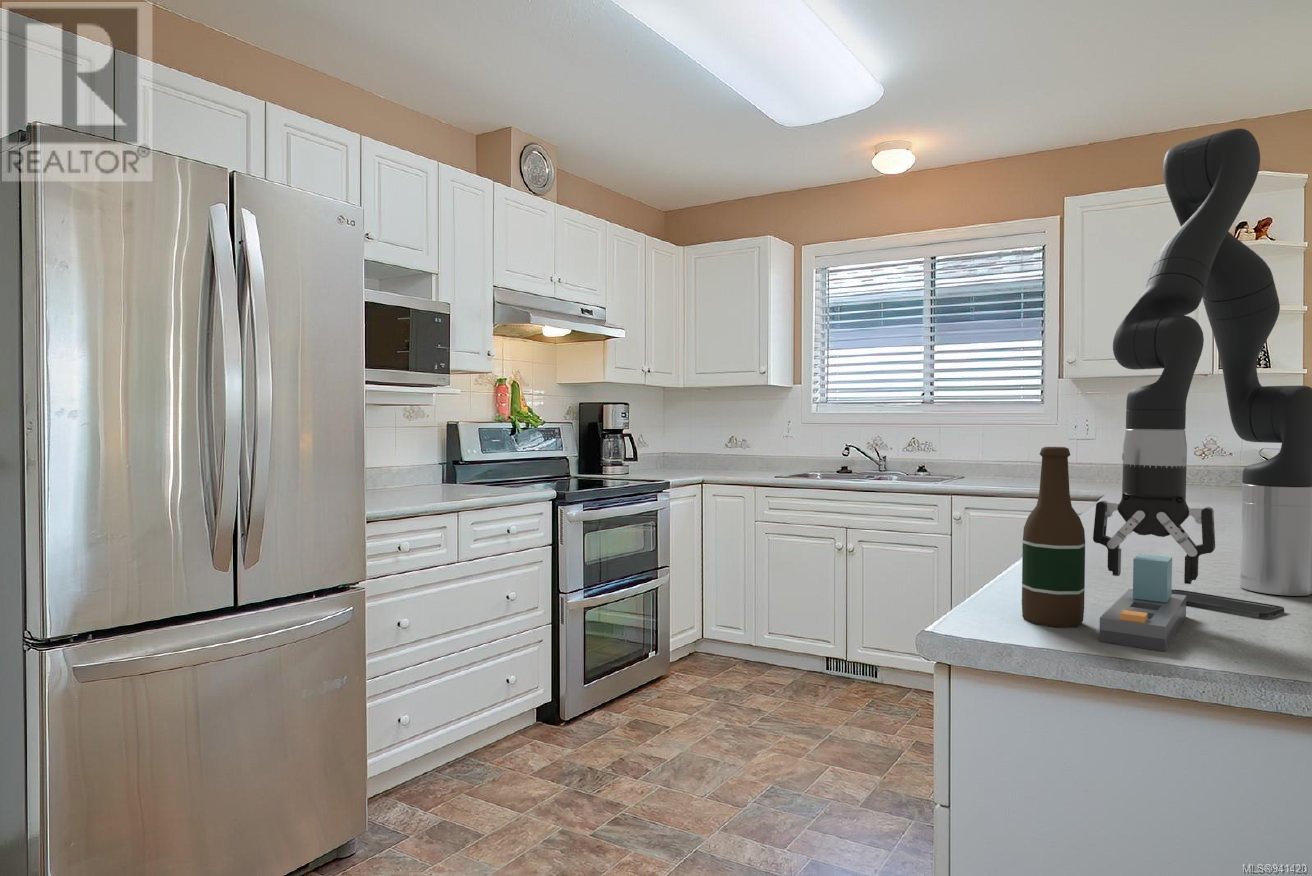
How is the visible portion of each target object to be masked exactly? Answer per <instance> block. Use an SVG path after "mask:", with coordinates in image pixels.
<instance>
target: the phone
mask: <svg viewBox="0 0 1312 876" xmlns="http://www.w3.org/2000/svg"><path fill="white" fill-rule="evenodd" d="M1172 594H1178V595H1186V607H1192V608H1198V609H1202V610H1209V611H1213V612H1214V611H1215V612H1220V613H1225V614H1229V615H1230V614H1231V615H1237V616H1242V617H1246V618H1252V619H1253V618H1254V619H1257V620H1259V619H1260V620H1265V619H1266V620H1267V619H1271V618H1273V617H1276V616H1280V615H1281V616H1282V615H1283V614H1285V607H1284V606H1281V605H1275V604H1269V603H1265V602H1264V603H1263V602H1262V603H1261V602H1256V601H1250V600H1244V599H1238V598H1231V597H1226V596H1220V595H1214V594H1208V593H1202V592H1196V591H1190V590H1184V589H1183V590H1182V589H1176V588H1175V589H1172Z"/></svg>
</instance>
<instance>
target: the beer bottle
mask: <svg viewBox="0 0 1312 876" xmlns="http://www.w3.org/2000/svg"><path fill="white" fill-rule="evenodd" d="M1039 455H1040V457H1041V467H1040V468H1041V469H1040V477H1039V478H1040V479H1039V480H1040V482H1039V491H1038V492H1039V493H1038V498H1037V502H1036V506H1035V507H1034V508H1033V509H1032V511H1031V512H1030V513H1029V515H1028V517H1027V519H1026V521H1025V524H1024V526H1023V532H1022V533H1023V534H1022V555H1021V556H1022V559H1021V561H1022V562H1021V563H1022V564H1021V565H1022V566H1021V568H1022V569H1021V571H1022V572H1021V613H1022V614H1021V616H1022V617H1023V619H1024V620H1025V621H1028V622H1029V623H1032V624H1034V625H1039V626H1043V627H1044V626H1045V627H1050V628H1051V627H1052V628H1077V627H1079V626H1080V625H1081V624H1082V623H1083V621H1084V616H1085V615H1084V614H1085V588H1086V587H1085V585H1086V584H1085V583H1086V581H1085V580H1086V578H1085V577H1086V534H1085V533H1086V531H1085V528H1084V525H1083V522H1082V520H1081V517H1080V515H1079V514H1078V513H1077V512H1076V511H1075V509H1074V507H1073V505H1072V499H1071V495H1070V494H1071V493H1070V491H1071V490H1070V477H1069V476H1070V474H1069V473H1070V472H1069V457H1070V456H1071V451H1070V449H1069V448H1068V447H1066V446H1043V447H1041V449H1040V452H1039Z"/></svg>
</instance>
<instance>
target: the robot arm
mask: <svg viewBox="0 0 1312 876" xmlns="http://www.w3.org/2000/svg"><path fill="white" fill-rule="evenodd" d="M1260 165H1261V152H1260V146H1259V144H1258V141H1257V139H1256V137H1255V135H1254V134H1253V133H1251V131H1249V130H1247V129H1245V128H1233V129H1232V128H1231V129H1227V130H1223V131H1220V132H1216V133H1215V132H1214V133H1213V134H1209V135H1206V136H1202V137H1199V138H1195V139H1193V140H1189V141H1186V142H1185V141H1184V142H1182V143H1179V144H1176V145H1174V146H1172V147H1170V148H1169V149H1168V150H1167V151H1166V153H1165V155H1164V158H1163V165H1162V172H1163V173H1162V174H1163V181H1164V185H1165V188H1166V192H1167V195H1168V197H1169V199H1170V203H1171V205H1172V207H1173V211H1174V213H1175V216H1176V218H1177V220H1178V223H1179V225H1180V228H1178V229H1177V230H1176V231H1175V232H1174V233H1173V234H1172V236H1170V238H1169V239H1168V240H1167V241H1166V242H1165V243H1164V244H1163V245H1162V247H1161V248H1160V251H1158V253H1157V256H1156V257H1155V258H1154V259H1155V260H1154V262H1153V264H1152V268H1151V269H1150V270H1151V271H1150V273H1149V277H1148V279H1147V282H1146V284H1145V285H1146V286H1145V289H1144V291H1142V293H1141V294H1140V296H1139V297H1138V298H1137V300H1136V301H1135V302H1134V304H1133V305H1132V306H1131V307H1130V309H1129V311H1127V313H1126V315H1125V316H1124V318H1123V319H1122V320H1121V321H1120V323H1119V325H1118V326H1117V329H1116V330H1115V333H1114V337H1113V341H1112V352H1113V356H1114V358H1115V360H1116V361H1117V363H1118V364H1119V365H1120V366H1122V367H1123V368H1125V369H1127V370H1154V369H1162V373H1161V375H1160V376H1159V378H1158V379H1157V380H1156V381H1155V382H1153V383H1151V384H1147V385H1142V386H1138V387H1136V388H1132V389H1131V390H1129V392H1128V393H1127V396H1126V404H1125V407H1126V408H1125V409H1126V411H1125V435H1124V439H1123V444H1122V455H1121V461H1122V481H1121V482H1122V483H1121V485H1122V488H1121V490H1122V491H1121V500H1120V501H1119V503H1118V502H1117V503H1116V502H1108V501H1106V500H1100V501H1098V502H1096V504H1095V513H1094V523H1093V534H1092V541H1093V542H1094V543H1095V544H1099V545H1102V546H1104V547H1105V548H1106V549H1107V566H1106V567H1107V570H1108V572H1111V573H1112V576H1114V577H1119V576H1120V575H1121V571H1122V548H1120V545H1121V544H1122V543H1123V542H1124V541H1125V540H1127V539H1126V538H1128V537H1129V536H1130V535H1131V534H1132V533H1133V532H1134V533H1135V534H1138V535H1139V536H1148V535H1153V536H1155V537H1158V538H1159V537H1161V538H1165V537H1168V536H1171V537H1172V538H1173V539H1174V541H1175V542H1176V543H1177V544H1178V545H1179V546H1180V547H1181V548H1182V549H1183V551H1184V552H1185V554H1186V555H1185V556H1184V577H1183V578H1184V579H1183V581H1184V582H1183V583H1184V584H1185V585H1192V583H1193V581H1196V580H1197V578H1198V576H1199V558H1200V556H1201V555H1206V554H1211V553H1213V552H1214V551H1215V550H1216V536H1215V535H1216V532H1215V515H1214V514H1215V512H1214V509H1213V508H1212V507H1210V506H1205V507H1202V508H1200V507H1199V508H1198V507H1197V508H1194V507H1192V508H1191V507H1189V506H1188V505H1187V504H1188V503H1187V501H1186V500H1187V499H1186V498H1187V466H1188V465H1187V463H1188V462H1187V459H1188V446H1187V445H1188V444H1187V435H1186V420H1187V419H1186V417H1187V416H1186V415H1187V414H1186V411H1187V399H1188V395H1189V391H1190V387H1191V385H1192V381H1193V377H1194V375H1195V372H1196V369H1197V367H1198V363H1199V361H1200V359H1201V355H1202V353H1203V349H1204V342H1205V338H1204V332H1203V329H1202V326H1201V325H1200V324H1199V322H1198V321H1197V320H1196V319H1194V318H1193V317H1191V316H1188V315H1190V314H1192V313H1193V312H1194V311H1195V310H1197V309H1198V307H1199V306H1200V304H1201V302H1202V301H1203V305H1204V309H1205V312H1206V316H1207V319H1208V322H1209V325H1210V327H1211V331H1212V334H1213V339H1214V341H1215V345H1216V349H1217V352H1218V356H1219V360H1220V364H1221V368H1222V369H1221V370H1222V375H1223V382H1224V386H1225V387H1224V388H1225V393H1226V399H1227V400H1226V401H1227V406H1228V410H1229V415H1230V420H1231V423H1232V427H1233V429H1234V431H1235V433H1236V435H1237V436H1238V437H1239V438H1240V439H1241V440H1243V441H1246V442H1251V443H1268V444H1269V443H1270V444H1272V443H1275V444H1281V445H1280V450H1279V452H1278V453H1277V454H1276V455H1275V456H1273V457H1271V458H1269V459H1266V460H1264V461H1261V462H1258V463H1257V462H1256V463H1252V464H1248V465H1246V466H1245V467H1244V468H1243V470H1242V477H1241V478H1242V479H1241V480H1242V481H1241V482H1242V484H1241V485H1242V486H1241V487H1242V488H1241V490H1242V491H1241V534H1240V535H1241V537H1240V572H1239V573H1240V575H1239V579H1240V580H1239V581H1240V582H1239V586H1240V588H1242V589H1244V590H1246V591H1251V592H1256V593H1263V594H1266V595H1267V594H1268V595H1278V596H1290V597H1291V596H1293V597H1294V596H1295V597H1301V596H1302V597H1303V596H1310V595H1312V387H1310V386H1308V385H1269V386H1267V385H1266V386H1265V385H1263V386H1262V384H1261V383H1260V380H1259V378H1258V371H1257V370H1258V368H1257V364H1258V360H1259V356H1260V353H1261V351H1262V349H1263V347H1264V345H1265V343H1266V342H1267V340H1268V339H1269V336H1270V335H1271V333H1272V331H1273V329H1274V328H1275V325H1276V324H1277V320H1278V317H1279V315H1280V310H1281V308H1280V306H1281V305H1280V299H1279V295H1278V292H1277V287H1276V283H1275V279H1274V276H1273V273H1272V270H1271V268H1270V266H1269V265H1268V263H1266V261H1265V260H1264V259H1263V258H1262V257H1261V256H1260V255H1258V254H1257V253H1256V251H1254V250H1253V249H1252V248H1250V247H1249V246H1248V245H1246V244H1245V243H1243V242H1242V241H1241V240H1239V239H1238V238H1237V237H1236V236H1234V235H1233V234H1232V233H1231V232H1230V229H1231V227H1232V226H1233V224H1234V222H1235V220H1236V219H1237V217H1238V215H1239V214H1240V211H1241V209H1242V207H1243V206H1244V204H1245V202H1246V200H1247V199H1248V196H1249V195H1250V193H1251V191H1252V189H1253V187H1254V185H1255V182H1256V180H1257V178H1258V177H1257V176H1258V175H1259V171H1260ZM1115 511H1117V512H1118V514H1119V515H1120V516H1121V517H1122V519H1123V520H1124V522H1125V523H1124V524H1123V525H1122V526H1121V527H1120V528H1119V529H1118V531H1116V533H1115V534H1114V535H1112V537H1111V536H1109V535H1107V527H1108V518H1110V517H1112V516H1113V515H1114V513H1115ZM1190 516H1191V517H1192V518H1194V521H1195V523H1196V524H1198V525H1201V537H1202V538H1201V539H1202V540H1201V541H1202V543H1200V544H1195V542H1194V541H1193V540H1192V538H1191V537H1190V535H1189V534H1188V533H1187V532H1186V530H1185V529H1184V528H1183V526H1181V525H1182V524H1183V523H1184V522H1185V521H1186V520H1187V519H1188V518H1189V517H1190Z"/></svg>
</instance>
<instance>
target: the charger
mask: <svg viewBox="0 0 1312 876" xmlns="http://www.w3.org/2000/svg"><path fill="white" fill-rule="evenodd" d="M1132 559H1133V561H1132V563H1133V564H1132V565H1133V566H1132V568H1133V569H1132V589H1133V599H1141V600H1149V601H1157V602H1165V603H1167V602H1168V600H1169V599H1170V598H1171V596H1172V590H1173V589H1172V588H1173V557H1172V556H1164V555H1154V554H1152V555H1151V554H1142V553H1138V554H1137V555H1136V556H1135V557H1134V558H1132Z"/></svg>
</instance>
